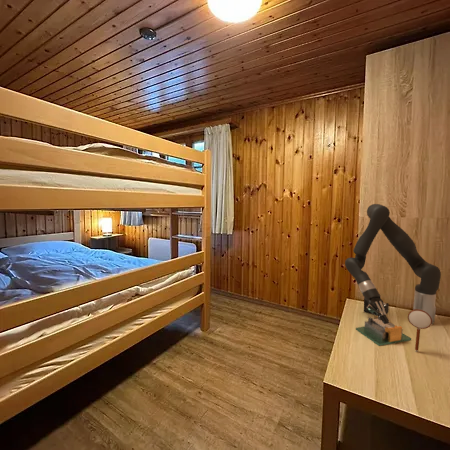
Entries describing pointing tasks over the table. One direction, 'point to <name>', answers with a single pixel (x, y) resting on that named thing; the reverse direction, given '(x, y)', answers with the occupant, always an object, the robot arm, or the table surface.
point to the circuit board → (382, 333)
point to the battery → (366, 306)
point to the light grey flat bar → (381, 323)
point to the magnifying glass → (419, 322)
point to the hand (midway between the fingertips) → (386, 323)
